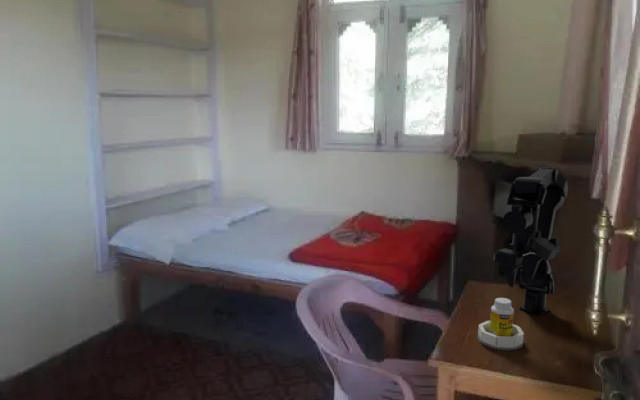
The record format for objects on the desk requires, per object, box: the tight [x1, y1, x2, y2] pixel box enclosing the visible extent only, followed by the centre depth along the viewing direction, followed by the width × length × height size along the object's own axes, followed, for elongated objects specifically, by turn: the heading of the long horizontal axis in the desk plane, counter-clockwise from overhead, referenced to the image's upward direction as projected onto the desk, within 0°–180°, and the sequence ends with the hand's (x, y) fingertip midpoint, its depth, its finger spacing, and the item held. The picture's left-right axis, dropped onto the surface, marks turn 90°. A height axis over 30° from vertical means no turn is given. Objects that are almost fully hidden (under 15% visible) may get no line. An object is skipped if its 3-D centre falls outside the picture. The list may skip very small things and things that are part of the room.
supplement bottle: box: [489, 297, 515, 337], centre depth 136 cm, size 6×6×10 cm
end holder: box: [477, 320, 525, 352], centre depth 137 cm, size 11×11×3 cm
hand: (521, 283), depth 141 cm, fingers open, 9 cm apart
